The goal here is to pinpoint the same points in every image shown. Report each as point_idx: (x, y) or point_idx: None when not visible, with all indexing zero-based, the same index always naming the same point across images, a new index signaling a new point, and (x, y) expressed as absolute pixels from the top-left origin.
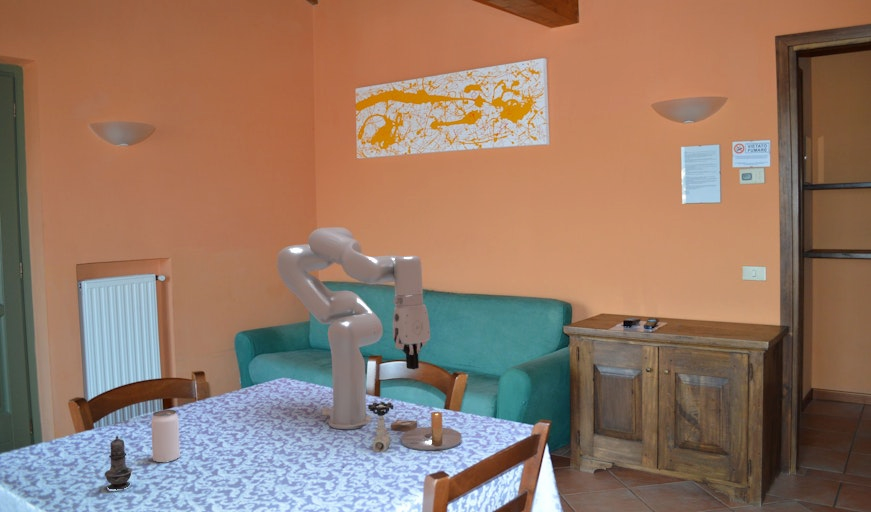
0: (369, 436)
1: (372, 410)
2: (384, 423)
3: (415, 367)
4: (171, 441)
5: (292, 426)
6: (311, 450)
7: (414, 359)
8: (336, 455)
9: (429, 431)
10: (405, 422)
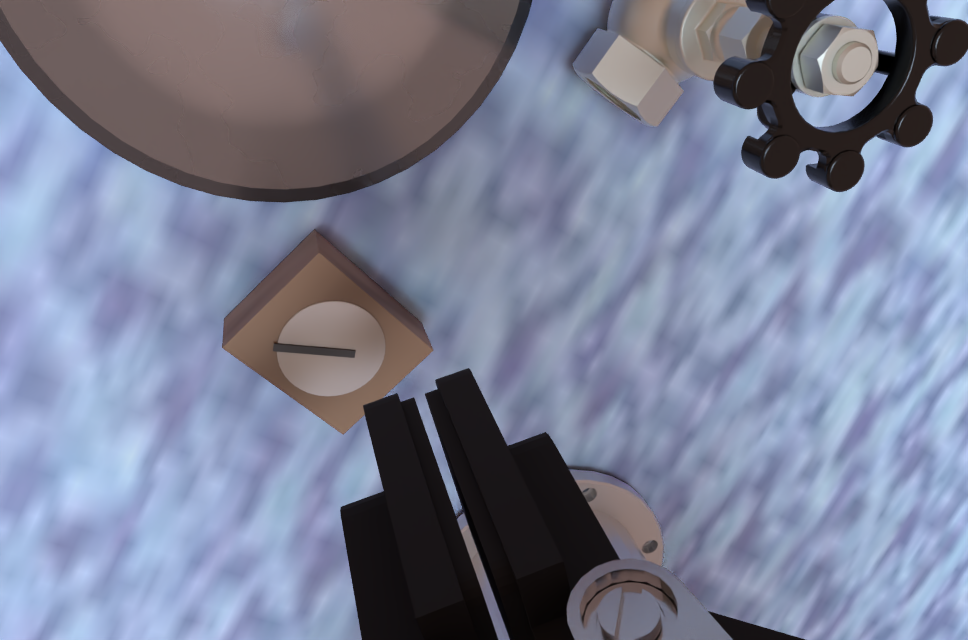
0: (565, 319)
1: (940, 18)
2: (727, 24)
3: (448, 385)
4: None
5: (775, 608)
6: (920, 236)
7: (509, 485)
8: None
9: (232, 57)
10: (322, 344)
